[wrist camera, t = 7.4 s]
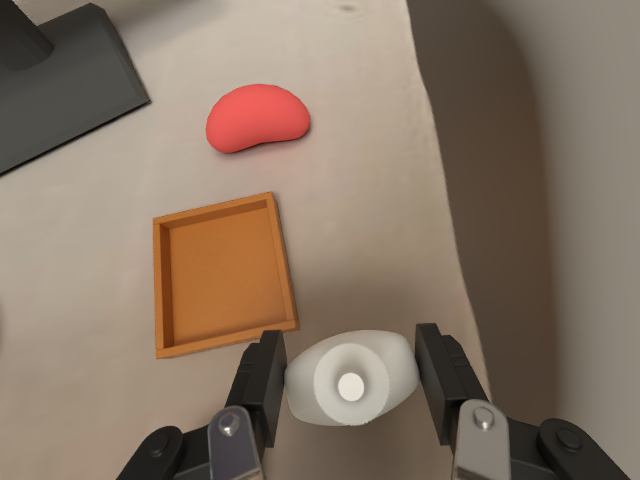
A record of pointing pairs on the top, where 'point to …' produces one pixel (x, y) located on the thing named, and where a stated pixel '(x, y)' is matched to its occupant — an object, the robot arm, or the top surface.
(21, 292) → the top surface
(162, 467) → the robot arm
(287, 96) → the red kidney bean shape
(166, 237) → the amber tray
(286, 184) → the top surface
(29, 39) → the computer monitor
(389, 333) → the eye dropper bottle
